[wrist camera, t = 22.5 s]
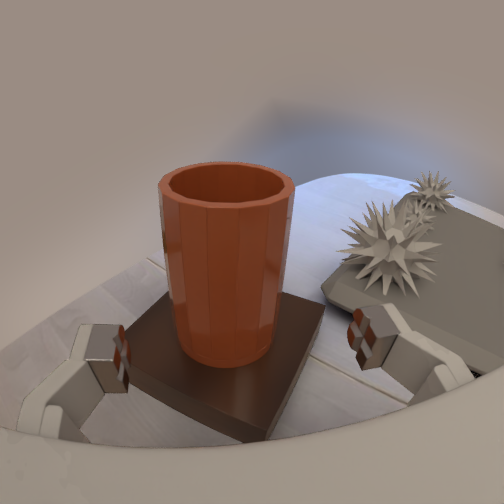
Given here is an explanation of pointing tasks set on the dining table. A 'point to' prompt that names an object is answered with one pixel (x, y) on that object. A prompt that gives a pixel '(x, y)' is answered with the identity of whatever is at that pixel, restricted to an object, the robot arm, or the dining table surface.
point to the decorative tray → (430, 273)
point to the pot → (225, 257)
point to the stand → (224, 371)
